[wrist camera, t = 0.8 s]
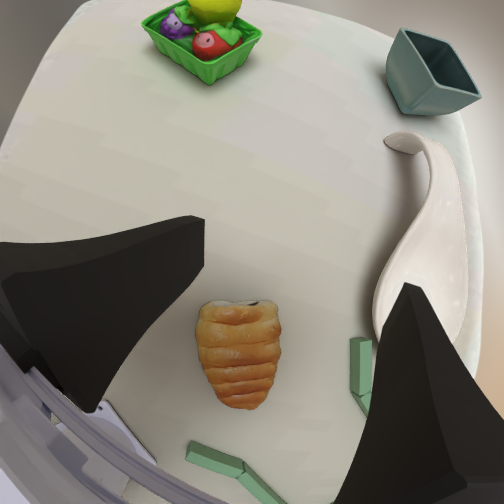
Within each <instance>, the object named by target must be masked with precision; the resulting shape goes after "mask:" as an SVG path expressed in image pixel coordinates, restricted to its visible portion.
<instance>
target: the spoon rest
mask: <svg viewBox="0 0 504 504" xmlns="http://www.w3.org/2000/svg"><path fill="white" fill-rule="evenodd" d="M384 141H385V143H386V144H387V145H388V146H389V147H391V148H393V149H395V150H398V151H401V152H405V153H409V154H417V153H418V152H420V151H422V150H423V152H424V154H425V156H426V158H427V161H428V164H429V170H430V183H429V189H428V192H427V196H426V198H425V201H424V203H423V205H422V207H421V209H420V211H419V212H418V214H417V216H416V217H415V219H414V220H413V222H412V224H411V225H410V227H409V228H408V230H407V231H406V232H405V234H404V235H403V237H402V238H401V240H400V242H399V243H398V245H397V246H396V248H395V250H394V251H393V253H392V255H391V256H390V258H389V260H388V261H387V263H386V265H385V267H384V269H383V271H382V273H381V275H380V277H379V280H378V283H377V286H376V289H375V293H374V297H373V305H372V317H373V325H374V330H375V334H376V337H377V340H378V342H379V340H380V336H381V332H382V327H383V325H384V323H385V321H386V319H387V317H388V315H389V313H390V311H391V309H392V307H393V305H394V303H395V301H396V299H397V297H398V295H399V293H400V291H401V289H402V287H403V284H404V282H407V283H410V284H413V285H416V286H419V287H421V288H422V289H423V291H424V293H425V294H426V296H427V298H428V300H429V302H430V304H431V305H432V307H433V309H434V311H435V313H436V315H437V317H438V319H439V321H440V322H441V324H442V326H443V328H444V330H445V332H446V334H447V336H448V337H449V339H450V341H451V343H452V344H453V342H454V341H455V339H456V337H457V335H458V333H459V331H460V328H461V326H462V323H463V319H464V316H465V311H466V306H467V298H468V263H467V247H466V235H465V224H464V215H463V206H462V199H461V193H460V187H459V181H458V176H457V173H456V170H455V167H454V164H453V162H452V159H451V157H450V156H449V154H448V152H447V151H446V149H445V148H444V147H443V146H442V145H441V144H440V143H439V142H437V141H435V140H432V139H428V138H425V137H422V136H421V135H419V134H417V133H415V132H411V131H399V132H395V133H393V134H391V135H389V136H387V137H386V138H385V139H384Z"/></svg>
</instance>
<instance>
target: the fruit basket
mask: <svg viewBox="0 0 504 504" xmlns="http://www.w3.org/2000/svg"><path fill="white" fill-rule="evenodd" d="M241 3H242V0H183V1H181V2H179V3H176V4H174V5H172V6H169V7H167V8H165V9H163V10H161V11H159V12H157V13H156V14H153V15H151V16H150V17H148V18H147V19H145V20H144V21H142V23H141V25H142V27H143V28H144V30H145V31H146V32H148V33H149V35H150V37H151V38H152V40H153V41H154V43H155V45H156V46H157V48H158V49H159V51H160V52H161V53H163V54H165V55H166V56H170V58H171V59H172V60H174V61H175V62H177V63H178V64H180V65H183V66H184V67H185V69H187V70H188V71H190V72H191V73H193V74H194V75H197V76H198V77H199V78H200V79H201V80H202V81H204V82H205V83H206V84H208V85H212V84H213V83H214V82H215V81H216V79H220V78H222V77H223V76H225V75H227V74H228V73H230V72H231V71H233V70H234V69H235V68H236V67H238V66H241V65H242V64H243V63H244V61H245V60H246V58H247V56H248V55H249V53H250V51H251V50H252V48H253V46H254V45H255V43H257V42H258V40H259V39H260V38H261V36H262V32H261V30H259V29H257V28H256V27H254V26H252V25H251V24H249V23H247V22H245V21H244V20H242V19H240V18H238V17H236V14H237V13H238V11H239V9H240V7H241Z"/></svg>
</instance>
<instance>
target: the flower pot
mask: <svg viewBox="0 0 504 504" xmlns="http://www.w3.org/2000/svg"><path fill="white" fill-rule="evenodd" d="M386 78H387V84H388V86H389V88H390V90H391V92H392V94H393V96H394V98H395V100H396V102H397V104H398V107H399V109H400V111H401V112H402V113H404V114H416V115H426V116H436V115H446V114H450V113H453V112H456V111H458V110H460V109H462V108H464V107H466V106H468V105H469V104H471V103H473V102H475V101H477V100H479V99H481V98H482V96H481V94H480V92H479V90H478V88H477V86H476V84H475V83H474V81H473V79H472V78H471V76H470V74H469V72H468V71H467V69H466V67H465V66H464V64H463V63H462V61H461V59H460V58H459V56H458V54H457V53H456V51H455V50H454V48H453V47H452V46H451V44H450V43H449V42H447V41H445V40H442V39H439V38H436V37H432V36H430V35H426V34H423V33H420V32H416V31H413V30H410V29H406V28H400V30H399V32H398V34H397V36H396V38H395V40H394V42H393V45H392V47H391V49H390V51H389V54H388V57H387V61H386Z"/></svg>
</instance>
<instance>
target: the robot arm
mask: <svg viewBox="0 0 504 504" xmlns="http://www.w3.org/2000/svg"><path fill="white" fill-rule="evenodd" d="M204 229H205V219H202V218H198V217H195V216H192V215H189V216H182V217H177V218H173V219H169V220H165V221H161V222H157V223H153V224H150V225H146V226H142V227H139V228H134V229H130V230H126V231H122V232H118V233H114V234H110V235H105V236H100V237H95V238H89V239H83V240H74V241H65V242H55V243H12V242H0V504H131V503H130V502H128V501H127V500H125V499H124V498H122V495H123V492H124V490H125V488H126V486H127V484H128V481H129V479H130V478H131V479H133V480H134V481H136V482H137V483H139V484H140V485H142V486H143V487H145V488H146V489H148V490H150V491H151V492H153V493H155V494H156V495H158V496H160V497H161V498H163V499H165V500H166V501H168V502H170V503H172V504H229V503H227V502H225V501H222V500H220V499H218V498H216V497H213V496H211V495H209V494H207V493H205V492H203V491H201V490H199V489H197V488H195V487H193V486H191V485H189V484H187V483H185V482H183V481H181V480H179V479H178V478H176V477H174V476H172V475H171V474H169V473H167V472H165V471H164V470H162V469H160V468H159V467H157V466H156V464H157V463H156V460H155V459H154V458H153V457H152V456H151V455H150V454H149V453H148V452H147V450H146V449H145V448H144V447H143V446H142V445H141V443H140V442H139V441H138V440H137V439H136V437H135V436H134V435H133V434H132V433H131V431H130V430H129V429H128V428H127V426H126V425H125V424H124V423H123V421H122V420H121V419H120V417H119V416H118V415H117V413H116V412H115V411H114V409H113V408H112V407H111V405H110V404H109V403H108V402H107V401H106V400H102V401H101V399H102V397H103V395H104V393H105V391H106V390H107V388H108V386H109V384H110V383H111V381H112V379H113V378H114V376H115V374H116V373H117V371H118V370H119V368H120V366H121V365H122V363H123V362H124V360H125V359H126V358H127V356H128V355H129V353H130V352H131V350H132V349H133V348H134V346H135V345H136V344H137V342H138V341H139V340H140V338H141V337H142V336H143V334H144V333H145V332H146V330H147V329H148V328H149V327H150V326H151V325H152V324H153V323H154V322H155V320H156V319H157V318H158V317H159V316H160V315H161V314H162V313H163V312H164V311H165V310H166V309H167V308H168V307H169V306H170V305H171V304H172V303H173V302H174V301H175V300H176V299H177V298H178V297H179V296H180V295H181V294H182V293H183V292H184V291H185V290H186V289H187V288H188V287H189V286H190V284H191V283H192V282H193V280H194V279H195V278H196V277H197V275H198V274H199V272H200V271H201V269H202V268H203V267H204ZM57 389H58V390H59V391H60V392H61V393H62V394H63V395H65V396H66V397H67V398H68V399H70V400H71V401H72V402H73V403H74V404H75V405H76V406H77V407H79V408H80V409H81V410H82V412H81V411H80V410H79V409H78V408H76V407H75V406H74V405H73V404H72V403H71V402H70V401H69V400H68V399H66V398H65V397H64V396H63V395H62V394H61V393H60V392H59V391H58V390H57ZM99 406H101V407H102V408H103V409H100V408H99ZM50 411H51V412H52V413H53V414H54V415H55V416H56V417H57V418H58V419H59V420H60V421H61V422H60V423H58V424H56V425H54V424H53V423H52V422H51V412H50ZM333 504H504V420H503V419H502V417H501V416H500V415H499V414H498V412H497V411H496V410H495V409H494V407H493V406H492V405H491V403H490V402H489V400H488V399H487V398H486V396H485V395H484V394H483V392H482V391H481V389H480V388H479V387H478V385H477V384H476V382H475V381H474V379H473V378H472V376H471V374H470V373H469V371H468V370H467V368H466V367H465V365H464V364H463V362H462V360H461V359H460V357H459V355H458V353H457V352H456V350H455V348H454V346H453V345H452V343H451V341H450V339H449V337H448V336H447V334H446V332H445V330H444V328H443V326H442V324H441V322H440V321H439V319H438V317H437V315H436V313H435V311H434V309H433V307H432V305H431V304H430V302H429V300H428V298H427V296H426V294H425V293H424V291H423V289H422V288H421V287H419V286H416V285H413V284H410V283H407V282H404V284H403V287H402V289H401V291H400V293H399V295H398V297H397V299H396V301H395V303H394V305H393V307H392V309H391V311H390V313H389V315H388V317H387V319H386V321H385V323H384V325H383V327H382V332H381V336H380V340H379V345H378V350H377V356H376V364H375V372H374V380H373V387H372V394H371V400H370V407H369V412H368V416H367V420H366V424H365V427H364V430H363V433H362V437H361V440H360V443H359V445H358V448H357V451H356V454H355V456H354V459H353V462H352V464H351V467H350V469H349V471H348V474H347V476H346V478H345V481H344V483H343V485H342V487H341V489H340V491H339V493H338V495H337V497H336V499H335V501H334V503H333Z"/></svg>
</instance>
